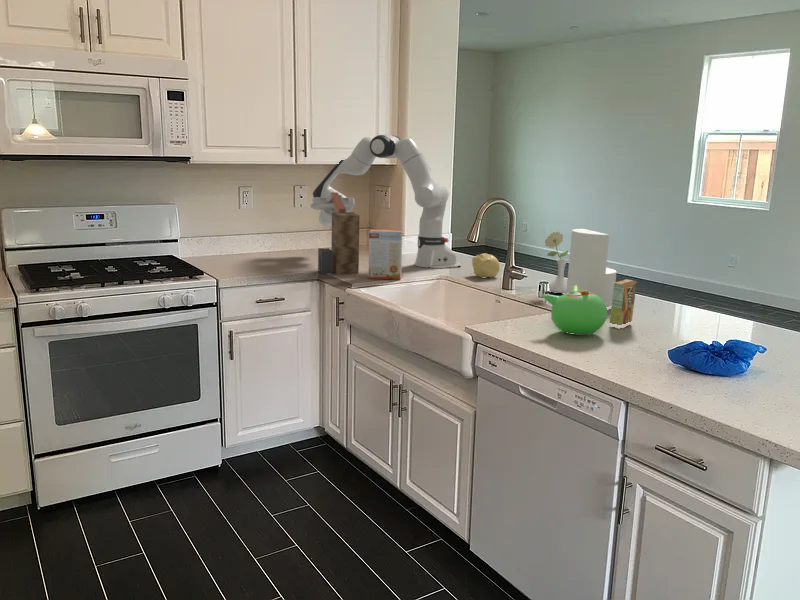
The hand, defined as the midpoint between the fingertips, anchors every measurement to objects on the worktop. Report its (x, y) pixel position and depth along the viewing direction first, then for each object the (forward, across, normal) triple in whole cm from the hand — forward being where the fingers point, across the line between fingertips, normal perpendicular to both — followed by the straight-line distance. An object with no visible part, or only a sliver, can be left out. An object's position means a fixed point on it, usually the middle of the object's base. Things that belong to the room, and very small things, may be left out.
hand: (336, 196), depth 318 cm
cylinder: (+71, +77, +78) cm, 130 cm away
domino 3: (+6, -9, +40) cm, 42 cm away
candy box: (+96, +71, +92) cm, 151 cm away
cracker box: (+18, +14, +47) cm, 53 cm away
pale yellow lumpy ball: (+20, +60, +49) cm, 80 cm away
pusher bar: (+2, 0, +6) cm, 6 cm away
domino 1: (0, -9, +37) cm, 38 cm away
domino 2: (+3, -9, +38) cm, 40 cm away
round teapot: (+100, +51, +94) cm, 147 cm away
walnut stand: (+2, 0, +38) cm, 38 cm away
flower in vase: (+52, +76, +67) cm, 114 cm away
